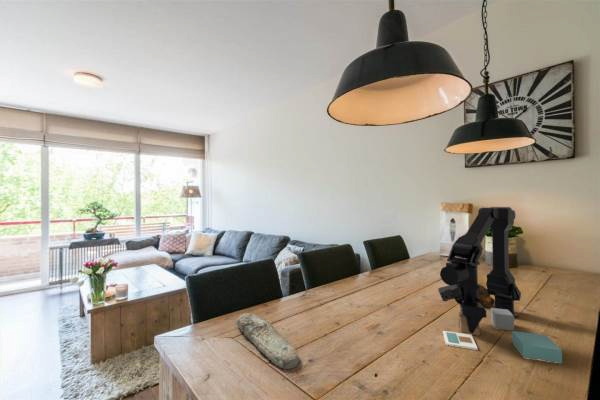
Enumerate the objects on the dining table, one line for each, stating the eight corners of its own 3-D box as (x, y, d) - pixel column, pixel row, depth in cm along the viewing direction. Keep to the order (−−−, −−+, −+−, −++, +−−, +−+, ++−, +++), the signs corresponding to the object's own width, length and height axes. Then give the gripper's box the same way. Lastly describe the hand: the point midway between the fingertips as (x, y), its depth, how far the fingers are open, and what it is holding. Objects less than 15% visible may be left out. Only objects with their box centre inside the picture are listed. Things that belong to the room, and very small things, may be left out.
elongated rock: (276, 382, 67) (307, 369, 73) (277, 362, 67) (308, 350, 73) (229, 323, 96) (254, 317, 102) (230, 309, 96) (255, 304, 102)
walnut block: (458, 326, 90) (458, 311, 90) (475, 328, 88) (475, 313, 88) (461, 333, 85) (460, 317, 85) (479, 336, 84) (479, 320, 84)
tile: (442, 332, 86) (442, 330, 86) (471, 336, 83) (471, 334, 83) (446, 345, 79) (446, 342, 79) (477, 350, 76) (477, 347, 76)
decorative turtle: (465, 294, 119) (466, 276, 118) (501, 309, 105) (502, 289, 104) (449, 296, 115) (450, 278, 115) (484, 312, 101) (486, 292, 101)
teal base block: (512, 344, 79) (512, 330, 79) (546, 349, 76) (546, 335, 76) (524, 359, 71) (523, 344, 71) (562, 365, 68) (561, 350, 68)
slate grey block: (491, 322, 92) (490, 307, 92) (508, 324, 91) (508, 309, 91) (495, 328, 88) (495, 313, 88) (514, 331, 86) (513, 315, 86)
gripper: (436, 270, 99) (438, 312, 99) (443, 286, 81) (444, 336, 81) (471, 272, 94) (473, 316, 94) (486, 289, 77) (487, 343, 77)
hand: (468, 326), depth 87 cm, fingers open, 7 cm apart
